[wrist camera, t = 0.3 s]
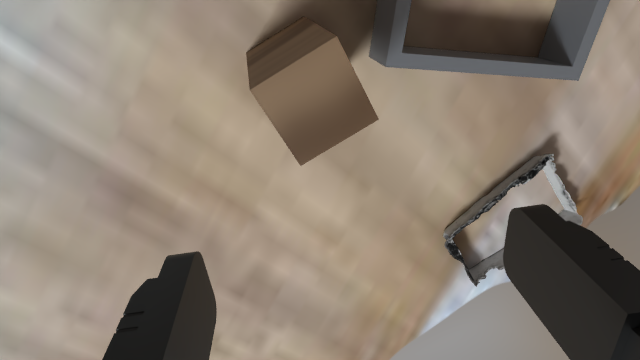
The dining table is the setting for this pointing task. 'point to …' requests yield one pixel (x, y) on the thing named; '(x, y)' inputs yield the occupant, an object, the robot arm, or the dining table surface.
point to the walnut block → (308, 89)
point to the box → (552, 62)
